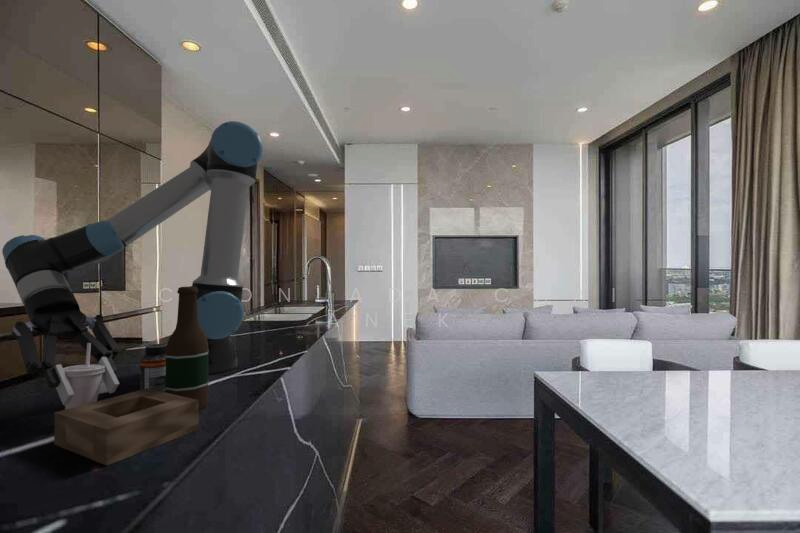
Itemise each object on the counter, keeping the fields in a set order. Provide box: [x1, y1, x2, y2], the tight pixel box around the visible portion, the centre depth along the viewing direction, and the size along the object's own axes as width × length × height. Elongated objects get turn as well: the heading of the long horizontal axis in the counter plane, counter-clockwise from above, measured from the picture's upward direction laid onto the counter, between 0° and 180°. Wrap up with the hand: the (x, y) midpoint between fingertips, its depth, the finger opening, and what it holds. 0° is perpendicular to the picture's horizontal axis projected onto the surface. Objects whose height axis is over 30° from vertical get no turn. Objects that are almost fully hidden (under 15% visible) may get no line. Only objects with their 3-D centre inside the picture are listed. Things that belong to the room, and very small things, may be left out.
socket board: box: [53, 389, 200, 466], centre depth 64 cm, size 14×15×5 cm
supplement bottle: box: [139, 343, 167, 393], centre depth 84 cm, size 6×6×11 cm
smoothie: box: [63, 343, 105, 410], centre depth 71 cm, size 6×6×14 cm
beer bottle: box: [166, 286, 209, 411], centre depth 78 cm, size 8×8×24 cm
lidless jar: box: [98, 379, 109, 395], centre depth 89 cm, size 5×3×5 cm
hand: (92, 393), depth 69 cm, fingers closed on smoothie, 6 cm apart
